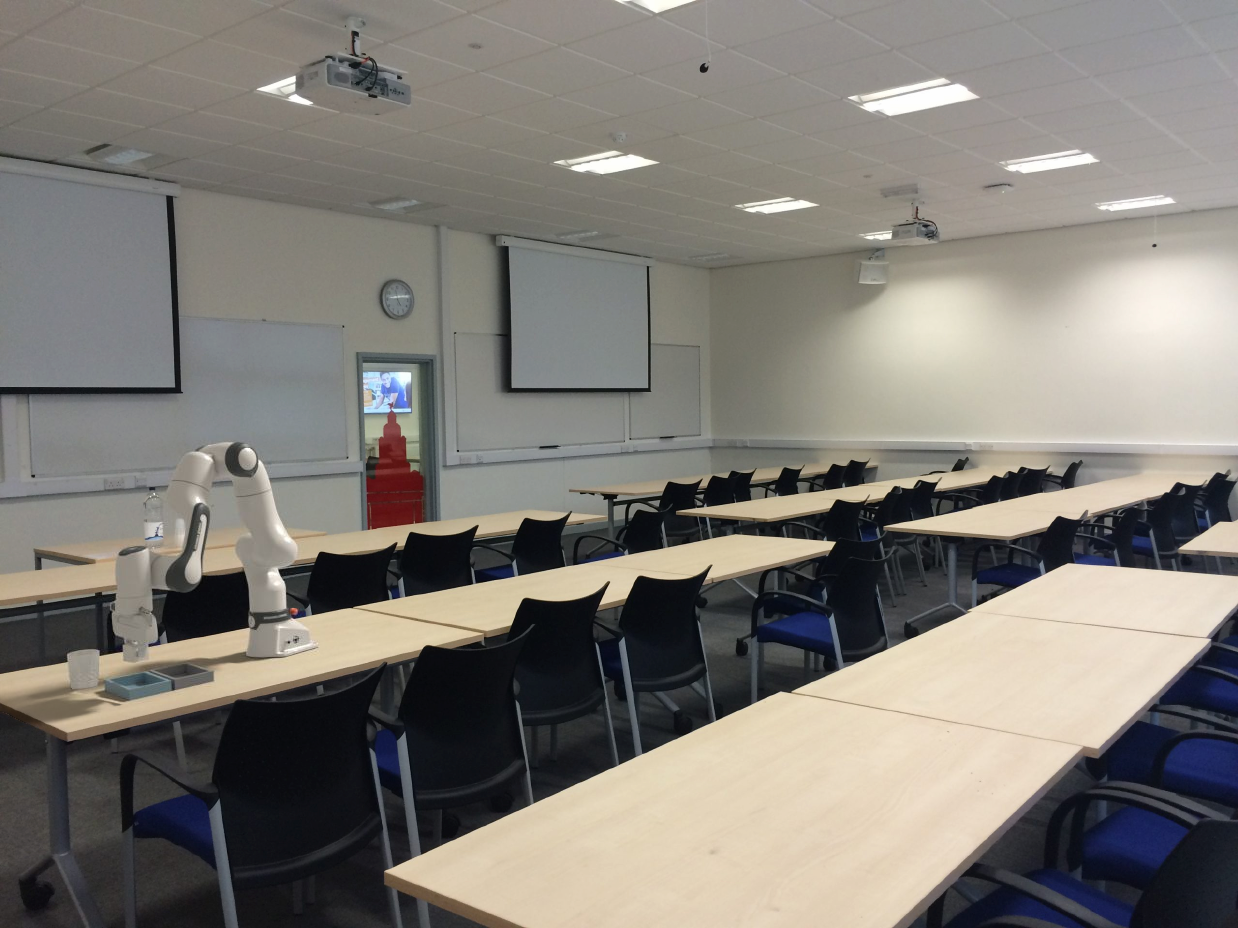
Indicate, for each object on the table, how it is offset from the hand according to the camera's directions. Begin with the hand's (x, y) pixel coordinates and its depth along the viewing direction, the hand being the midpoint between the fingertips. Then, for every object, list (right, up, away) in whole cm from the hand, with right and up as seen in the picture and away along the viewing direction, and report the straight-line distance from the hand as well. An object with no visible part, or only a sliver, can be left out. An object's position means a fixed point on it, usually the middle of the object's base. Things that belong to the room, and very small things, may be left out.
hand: (136, 655), depth 252 cm
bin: (0, -10, +1) cm, 11 cm away
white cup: (-18, -11, +7) cm, 22 cm away
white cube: (0, -1, 0) cm, 1 cm away
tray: (+8, -10, +10) cm, 16 cm away
